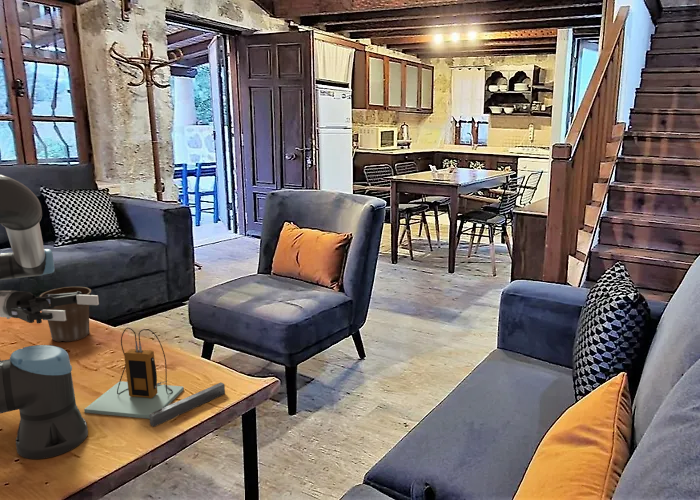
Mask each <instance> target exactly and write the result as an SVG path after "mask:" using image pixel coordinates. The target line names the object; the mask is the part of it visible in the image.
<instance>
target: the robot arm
mask: <svg viewBox="0 0 700 500" xmlns="http://www.w3.org/2000/svg"><path fill="white" fill-rule="evenodd" d="M42 217H43V210H42V204H41V202H40V200H39V198H38V197H37V196H36V194H35V193H34V192H33V191H32V190H31V189H30V188H29V187H27V186H26V185H25V184H23V183H22V182H20V181H18V180H16V179H14V178H11V177H9V176H6V175H3V174H0V225H1V226H2V227H4V228H5V231H6V234H7V237H8V241H9V244H10V247H11V250H12V252H4V253H3V252H1V253H0V281H2V280H12V279H13V280H14V279H18V278H19V279H21V278H28V277H29V278H30V277H38V276H39V277H40V276H42V277H43V275H44V276H45V275H49V274H53V273H55V269H56V267H55V262H54V253H53V250H52V249H51V248H45V246H44V241H43V236H42V229H41V226H40V222H41V220H42ZM99 300H100V299H99V295H98V294H97V295H96V294H90V295H82V292H79V291H77V292H74V293H63V294H46V295H45V297H40V296H35V295H34V294H33V293H32V292H30V291H19V290H0V318H6V319H7V320H9V319H12V318H13V319H19V320H22V321H25V322H27V323H28V324H33V323H35V321H36V324H41V323H43V321H48V320H52V321H66V314H65V310H46V309H52V308H54V307H55V306H60V305H67V304H74V303H77V304H83V305H89V306H99V305H100V302H99ZM49 304H51V306H49ZM42 320H43V321H42ZM72 371H73V366H72V365H71V361H70V356H69V353H68V352H67V351H66V350H65V349H64V348H62V347H60V346H55V345H49V344H38V345H29V346H25V347H22V348H17V349H16V350H14V351H13V352H12V353H11V354H10V356H9V359H3V360H1V359H0V414H3V413H10V412H14V411H17V410H18V411H19V417H20V418H19V424H18V429H17V433H16V435H17V436H16V438H15V447H16V448H15V449H16V452H17V454H18V456H20V457H22V458H24V459H29V460H30V459H32V460H41V459H48V458H53V457H57V456H60V455H62V454H63V455H64V454H65V453H67V452H70V451H72V450H73V449H75V448H77V447H79V445H81V444H82V443H83V442H84V441H85V440H86V439H87V436H88V435H89V430H88V424H87V423H88V422H87V421H86V419H85V418H84V417H82V413H81V410H80V408H79V407H78V405H77V403H76V397H75V396H76V395H75V389H74V381H73V375H72Z"/></svg>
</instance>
